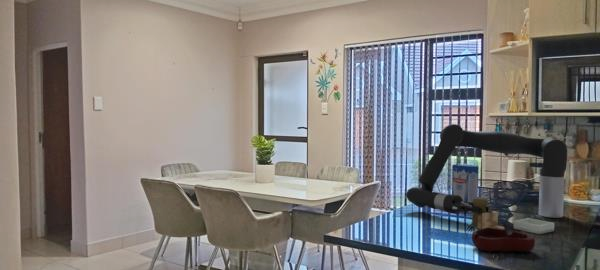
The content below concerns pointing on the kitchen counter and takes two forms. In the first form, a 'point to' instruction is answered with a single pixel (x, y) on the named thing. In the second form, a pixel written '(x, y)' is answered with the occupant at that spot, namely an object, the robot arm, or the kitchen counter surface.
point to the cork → (482, 204)
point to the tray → (533, 225)
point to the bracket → (489, 219)
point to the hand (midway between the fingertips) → (485, 210)
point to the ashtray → (502, 241)
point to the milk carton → (465, 181)
